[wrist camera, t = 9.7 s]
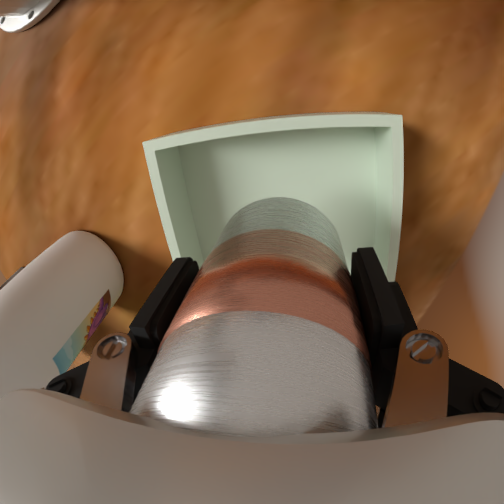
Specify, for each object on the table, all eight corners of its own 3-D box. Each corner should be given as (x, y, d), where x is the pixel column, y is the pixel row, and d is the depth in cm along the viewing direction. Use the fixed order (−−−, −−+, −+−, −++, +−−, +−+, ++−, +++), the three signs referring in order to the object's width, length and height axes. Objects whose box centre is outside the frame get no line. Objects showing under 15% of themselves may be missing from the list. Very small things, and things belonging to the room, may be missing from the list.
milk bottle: (51, 240, 23) (-86, 381, 6) (99, 216, 21) (-81, 404, 3) (88, 303, 26) (-15, 455, 9) (141, 294, 24) (25, 495, 7)
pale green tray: (171, 133, 17) (142, 142, 13) (379, 112, 14) (402, 115, 11) (222, 341, 25) (212, 375, 22) (368, 336, 23) (375, 371, 19)
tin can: (206, 202, 12) (48, 421, 3) (342, 191, 11) (434, 463, 2) (229, 307, 14) (167, 505, 6) (341, 303, 13) (358, 520, 5)
